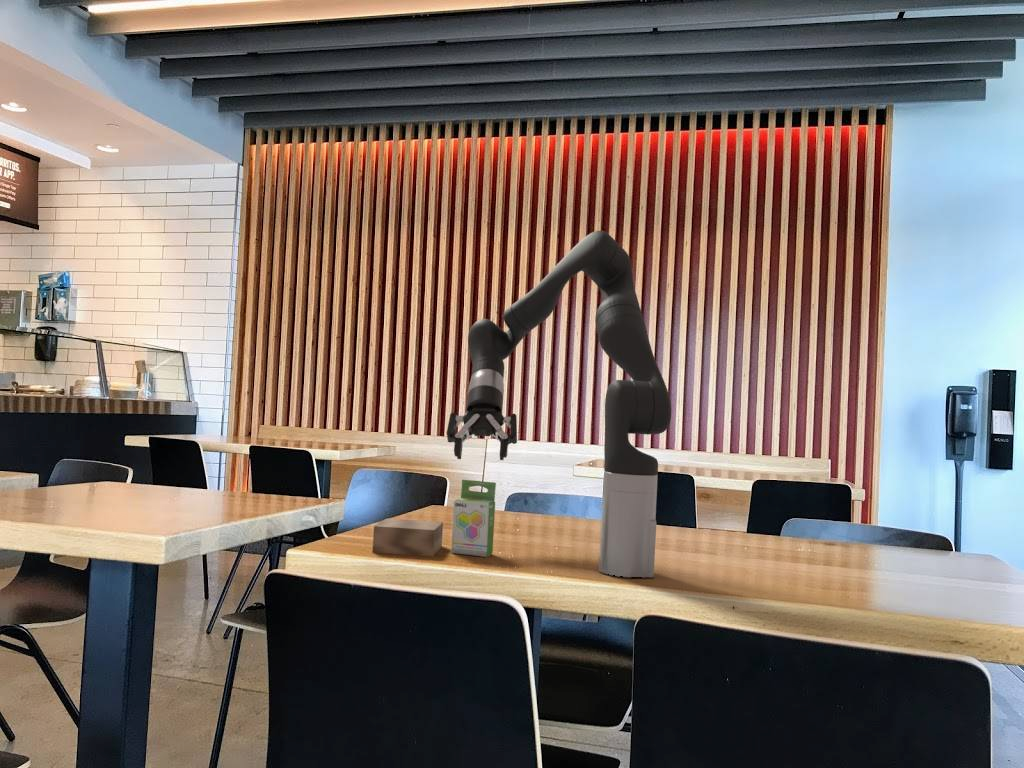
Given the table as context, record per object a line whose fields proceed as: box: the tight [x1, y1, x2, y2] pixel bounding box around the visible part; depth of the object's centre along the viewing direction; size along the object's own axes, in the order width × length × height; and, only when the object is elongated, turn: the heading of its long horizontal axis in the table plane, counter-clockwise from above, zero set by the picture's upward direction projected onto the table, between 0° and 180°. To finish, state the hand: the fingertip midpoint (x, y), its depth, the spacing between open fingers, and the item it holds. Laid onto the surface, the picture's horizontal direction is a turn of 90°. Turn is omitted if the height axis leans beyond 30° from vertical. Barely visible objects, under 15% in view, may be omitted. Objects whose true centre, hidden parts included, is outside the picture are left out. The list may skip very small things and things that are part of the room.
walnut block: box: [372, 518, 444, 557], centre depth 150 cm, size 11×11×5 cm
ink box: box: [451, 479, 497, 558], centre depth 149 cm, size 7×4×13 cm, turn 73°
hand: (480, 457), depth 160 cm, fingers open, 8 cm apart
